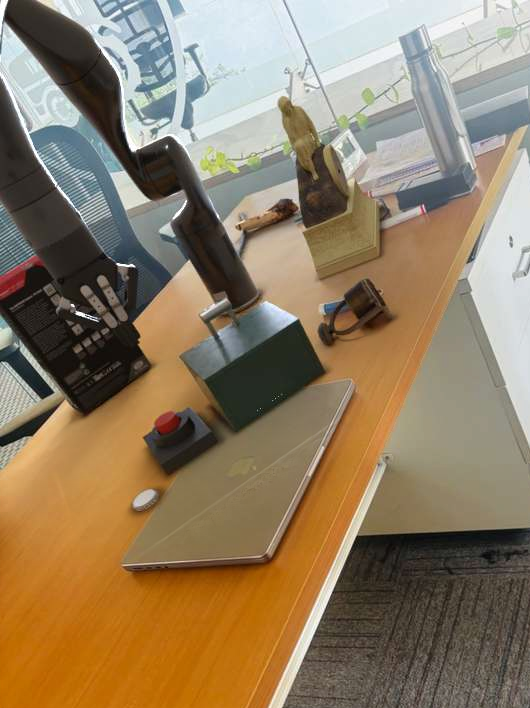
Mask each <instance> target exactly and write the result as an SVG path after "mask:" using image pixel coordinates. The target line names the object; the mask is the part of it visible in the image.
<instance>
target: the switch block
mask: <svg viewBox="0 0 530 708" xmlns="http://www.w3.org/2000/svg"><path fill="white" fill-rule="evenodd" d="M175 414H176V415H177V416H178V418H179V419H180V421H181V422H180V424H179V425H178V426H177V427H176V428H175V429H173V430H172V431H170V432H168V433H165V434H160V432H159V431H158V429H157V428H156V427H155V426H154V427H152V430H150V431H149V432H148V433H147V434H145V435H143V436H142V439H143V441H144V442H145V444H146V445H147V447H148V448H149V450H150V451H151V453H152V455H153V456H154V458H155V459H156V461H157V463H158V465H159V466H160V468H162V470H163V471H164V473H166V475H167V476H170V475H172V474H173V473H175V472H176V471H177V470H179V469H181V468H182V467H183V466H185V465H186V464H188V463H190V462H191V461H192V460H194V459H196V458H197V457H199V456H200V455H202V454H203V453H205V452H206V451H208V450H209V449H211V448H212V447H214V446H215V445H217V444H218V443H219V441H218V439H217V437H216V436H215V435H214V433H213V432H212V429H210V428H209V427H208V426H207V424H206V423H205V422H204V421H203V419H201V418H200V416H199V415H198V414H197V413H196V411H194V409H192V407H191V406H188V407H186V408H185V409H183V410H182V411H178V412H175Z"/></svg>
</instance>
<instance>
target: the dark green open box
mask: <svg viewBox="0 0 530 708" xmlns="http://www.w3.org/2000/svg"><path fill="white" fill-rule="evenodd" d="M183 364H184V365H185V367H186V369H187V370H188V372H189V373H190V374H191V377H192V378H193V380H194V381H195V382H196V384H197V385H198V388H199V389H200V390H201V392H202V393H203V395H204V396H205V398H206V399H207V401H208V402H209V404H210V405H211V406H212V408H213V409H214V410H215V411H216V412H217V413H218V414H219V415H220V416H221V417H222V418H223V419H224V420H225V421H226V422H227V424H229V425H230V427H231V428H232V429H233V430H234V431H235V432H238V431H240V430H241V429H243V428H244V427H246V426H247V425H249V424H250V423H252V422H253V421H254V420H256V419H258V418H259V417H260V416H263V415H264V414H265V413H266V412H268V411H270V410H272V409H273V408H275V406H277V405H279V404H280V403H282V402H283V401H284V400H286V399H287V398H289V397H291V396H293V395H294V394H295V393H296V392H298V391H300V390H301V389H302V388H304V387H306V386H307V385H309V384H311V383H312V382H313V381H315V380H316V379H318V378H319V377H321V376H322V375H324V374H325V373H326V369H325V368H324V366H323V364H322V362H321V360H320V358H319V356H318V354H317V352H316V350H315V348H314V346H313V344H312V342H311V340H310V337H309V336H308V334H307V332H306V331H305V328H304V326H303V324H302V322H301V323H300V324H299V325H297V326H296V327H294V328H293V329H291V330H290V331H288V332H286V333H285V334H283V335H282V336H280V337H279V338H277V339H276V340H274V341H273V342H271V343H269V344H268V345H266V346H265V347H263V348H262V349H260V350H259V351H257V352H256V353H254V354H252V355H251V356H249V357H248V358H246V359H245V360H243V361H242V362H240V363H239V364H237V365H235V366H234V367H232V368H231V369H229V370H228V371H226V372H225V373H223V374H222V375H220V376H218V377H217V378H215V379H214V380H212V381H211V382H209V383H208V384H205V383H204V382H203V381H202V380H201V379H200V378H199V377H198V376H197V375H196V374H195V373H194V372H193V371H192V370H191V369H190V368H189V367H188V366H187V365H186V364H185V363H184V362H183ZM281 394H282V395H281ZM278 396H279V397H278ZM275 398H276V399H275ZM272 400H273V401H272ZM260 408H261V409H260ZM257 410H258V411H257Z"/></svg>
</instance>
